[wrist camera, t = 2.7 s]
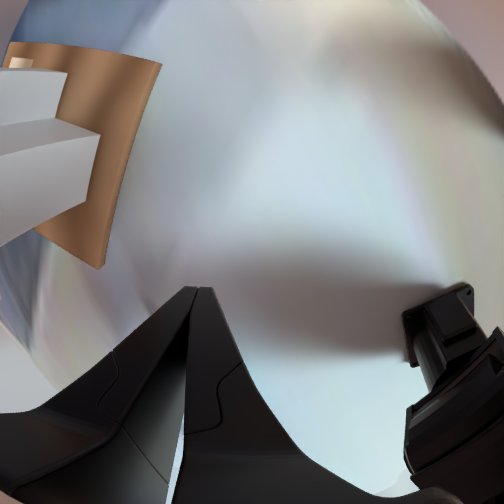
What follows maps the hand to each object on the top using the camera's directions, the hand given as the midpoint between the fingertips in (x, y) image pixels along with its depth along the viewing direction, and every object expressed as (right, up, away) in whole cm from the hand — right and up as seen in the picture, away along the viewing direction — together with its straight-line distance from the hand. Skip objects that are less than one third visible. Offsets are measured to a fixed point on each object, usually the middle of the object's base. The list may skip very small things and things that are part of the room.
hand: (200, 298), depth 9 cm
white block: (-13, +9, +9) cm, 18 cm away
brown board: (-15, +11, +9) cm, 21 cm away
